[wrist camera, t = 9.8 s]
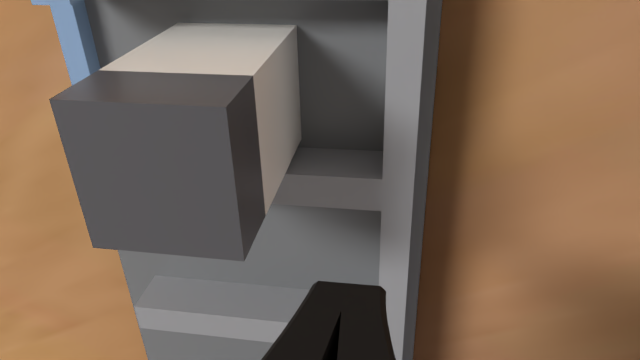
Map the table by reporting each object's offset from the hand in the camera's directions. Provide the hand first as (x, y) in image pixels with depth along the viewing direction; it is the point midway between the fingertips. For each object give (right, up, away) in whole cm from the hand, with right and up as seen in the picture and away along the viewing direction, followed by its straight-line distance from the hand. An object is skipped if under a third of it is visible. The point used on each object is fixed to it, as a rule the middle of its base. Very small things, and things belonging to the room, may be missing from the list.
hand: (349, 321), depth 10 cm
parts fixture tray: (-3, +1, +11) cm, 12 cm away
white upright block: (-3, +6, +8) cm, 10 cm away
